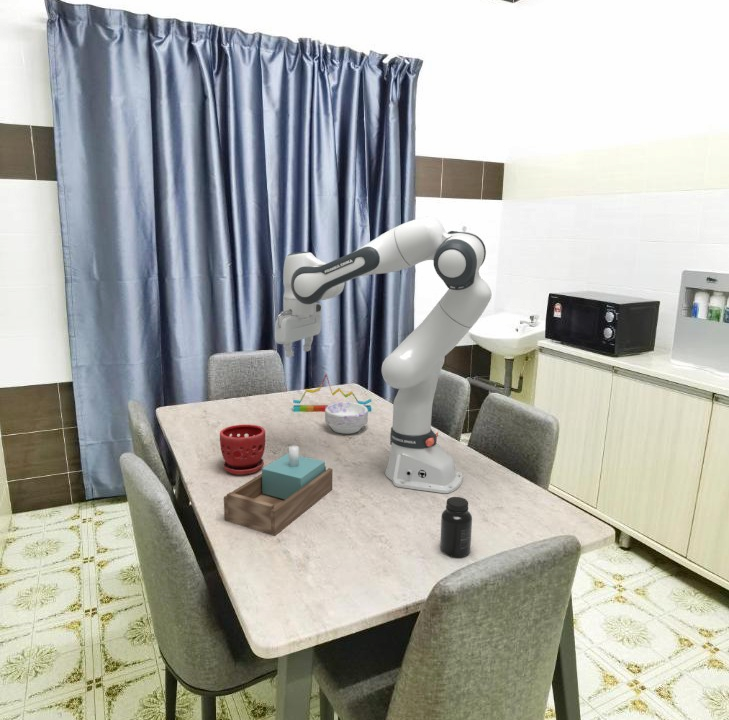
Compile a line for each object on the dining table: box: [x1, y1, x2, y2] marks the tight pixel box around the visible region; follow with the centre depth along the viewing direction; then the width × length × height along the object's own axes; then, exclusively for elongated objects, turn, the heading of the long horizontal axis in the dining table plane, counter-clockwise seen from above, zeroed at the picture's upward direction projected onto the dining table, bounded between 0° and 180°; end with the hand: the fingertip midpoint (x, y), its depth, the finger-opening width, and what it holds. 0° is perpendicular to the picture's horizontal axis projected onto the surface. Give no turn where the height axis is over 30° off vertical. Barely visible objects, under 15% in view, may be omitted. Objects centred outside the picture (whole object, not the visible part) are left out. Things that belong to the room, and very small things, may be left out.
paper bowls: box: [324, 401, 369, 435], centre depth 201 cm, size 15×15×8 cm
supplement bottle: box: [439, 496, 473, 558], centre depth 127 cm, size 7×7×12 cm
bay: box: [223, 467, 333, 537], centre depth 146 cm, size 15×27×7 cm, turn 154°
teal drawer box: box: [261, 445, 327, 500], centre depth 151 cm, size 12×12×12 cm
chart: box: [292, 373, 372, 413], centre depth 221 cm, size 30×3×15 cm, turn 94°
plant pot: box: [219, 424, 266, 476], centre depth 167 cm, size 13×13×12 cm
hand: (298, 353), depth 169 cm, fingers open, 8 cm apart
